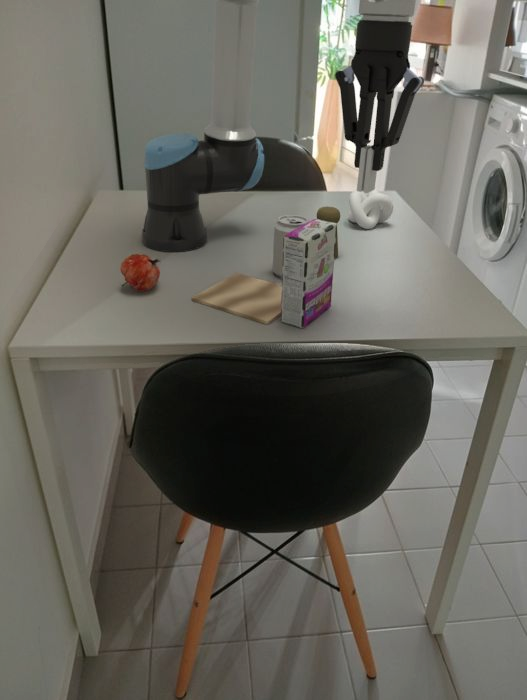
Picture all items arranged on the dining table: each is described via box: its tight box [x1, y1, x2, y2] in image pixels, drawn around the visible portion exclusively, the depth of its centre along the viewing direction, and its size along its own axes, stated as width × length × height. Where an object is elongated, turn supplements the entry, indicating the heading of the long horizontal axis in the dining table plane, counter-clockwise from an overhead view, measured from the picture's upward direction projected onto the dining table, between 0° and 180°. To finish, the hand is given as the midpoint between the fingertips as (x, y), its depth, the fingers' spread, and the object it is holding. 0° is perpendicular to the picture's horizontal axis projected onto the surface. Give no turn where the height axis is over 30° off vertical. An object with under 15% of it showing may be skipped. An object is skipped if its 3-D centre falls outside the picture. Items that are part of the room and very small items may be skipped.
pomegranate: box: [119, 253, 162, 292], centre depth 118 cm, size 7×7×10 cm
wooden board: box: [191, 272, 282, 325], centre depth 117 cm, size 17×15×1 cm
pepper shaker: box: [316, 206, 341, 261], centre depth 135 cm, size 6×6×11 cm
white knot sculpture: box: [347, 187, 394, 230], centre depth 156 cm, size 11×12×9 cm
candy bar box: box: [280, 218, 338, 329], centre depth 107 cm, size 11×5×16 cm, turn 148°
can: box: [272, 214, 310, 279], centre depth 125 cm, size 8×8×12 cm
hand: (365, 190), depth 95 cm, fingers closed
